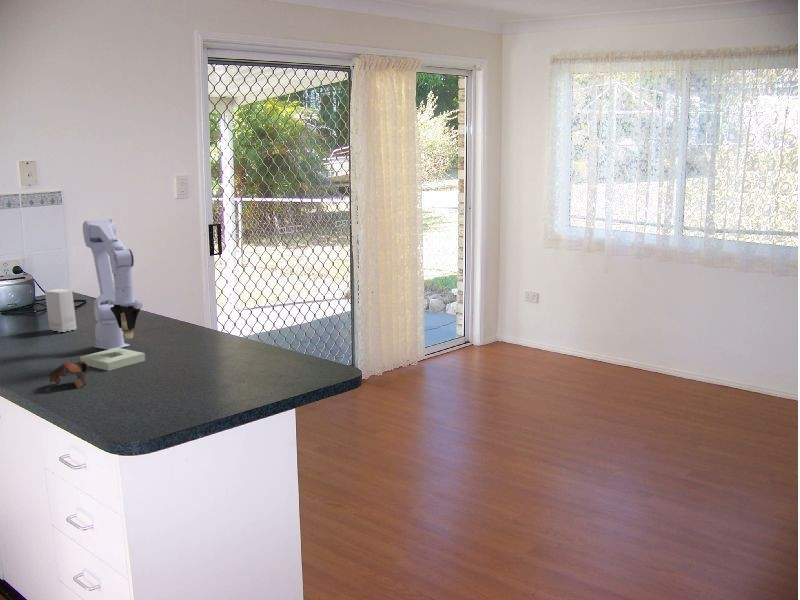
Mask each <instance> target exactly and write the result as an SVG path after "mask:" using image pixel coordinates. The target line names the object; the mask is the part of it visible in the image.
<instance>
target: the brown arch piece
mask: <svg viewBox="0 0 800 600" xmlns="http://www.w3.org/2000/svg"><path fill="white" fill-rule="evenodd" d="M67 370H68V371H69V372H70V373H72V374H75V375H76V376H77V379H76V380H75V381H74V382H73V384H74V385H75V387H76V389H80V388H81V387H83V386H84V385H86V384H87V380H86V379H85V378H86V377H85V376H86V375H87V373H88V370H89V366H88V365H87V364H86V363H85V362H84V361H81V360H80V361H77V362H76V363H72V362H71V361H70V360H68V361H67V360H66V361H65V362H64V363H62V364H60V365H59V366H57V367H56V368H55V369H54V370H50V372H49V373H47V376H48V381H49V383H51V382H54V383H56V384H57V383H59V382H60V383H61V381H62V379H61V377H67V374H66V373H67ZM60 383H59V384H60Z"/></svg>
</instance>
